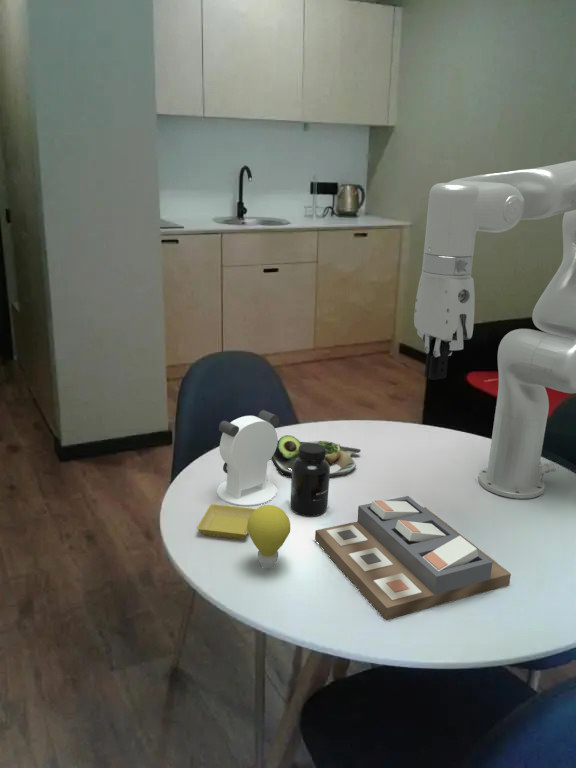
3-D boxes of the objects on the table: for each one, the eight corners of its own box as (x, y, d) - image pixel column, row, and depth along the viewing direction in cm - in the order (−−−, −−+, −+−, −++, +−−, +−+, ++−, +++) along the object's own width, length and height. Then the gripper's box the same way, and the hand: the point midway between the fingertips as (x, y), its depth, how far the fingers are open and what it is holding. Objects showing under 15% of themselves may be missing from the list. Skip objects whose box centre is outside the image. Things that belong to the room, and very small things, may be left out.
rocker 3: (461, 542, 103) (459, 534, 102) (478, 556, 99) (476, 548, 99) (423, 564, 101) (422, 556, 100) (440, 578, 97) (438, 570, 97)
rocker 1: (403, 508, 116) (406, 500, 116) (417, 519, 113) (419, 511, 112) (370, 508, 113) (372, 499, 113) (383, 519, 110) (385, 510, 109)
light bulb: (257, 581, 101) (258, 522, 98) (239, 558, 106) (240, 502, 103) (296, 570, 104) (299, 513, 101) (277, 549, 109) (279, 493, 106)
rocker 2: (428, 531, 110) (431, 522, 109) (443, 543, 106) (446, 534, 106) (395, 528, 106) (398, 519, 106) (409, 540, 103) (412, 531, 103)
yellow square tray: (246, 545, 111) (246, 534, 110) (196, 539, 112) (195, 528, 112) (257, 519, 119) (258, 508, 118) (210, 513, 120) (210, 503, 120)
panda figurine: (253, 472, 136) (254, 403, 131) (291, 493, 128) (294, 419, 123) (205, 489, 128) (204, 416, 123) (242, 512, 120) (243, 435, 116)
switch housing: (406, 511, 119) (408, 495, 118) (489, 579, 100) (492, 561, 99) (357, 521, 115) (358, 505, 114) (434, 594, 96) (436, 576, 95)
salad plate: (348, 442, 153) (349, 424, 152) (375, 477, 136) (377, 456, 135) (265, 448, 149) (265, 428, 147) (282, 484, 132) (283, 463, 131)
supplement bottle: (324, 519, 119) (328, 457, 115) (286, 514, 120) (289, 453, 116) (330, 501, 125) (333, 442, 122) (294, 497, 127) (296, 438, 123)
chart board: (424, 517, 121) (425, 505, 120) (509, 585, 102) (511, 571, 101) (314, 540, 112) (315, 528, 111) (385, 620, 93) (387, 606, 92)
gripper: (498, 272, 100) (483, 389, 105) (437, 258, 112) (427, 363, 118) (457, 274, 97) (444, 394, 102) (400, 259, 109) (391, 367, 115)
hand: (435, 377), depth 110 cm, fingers closed
